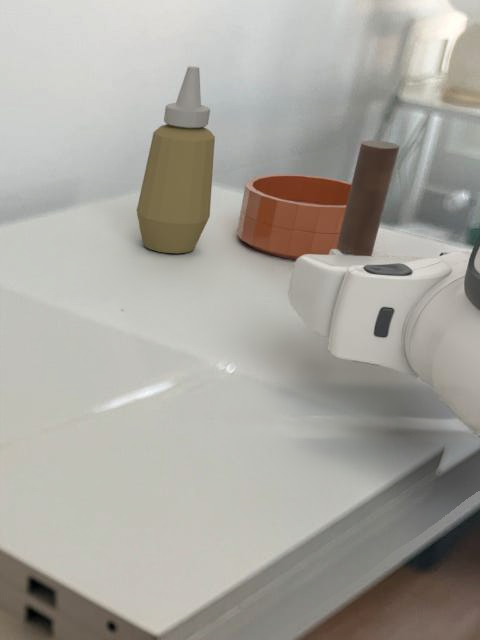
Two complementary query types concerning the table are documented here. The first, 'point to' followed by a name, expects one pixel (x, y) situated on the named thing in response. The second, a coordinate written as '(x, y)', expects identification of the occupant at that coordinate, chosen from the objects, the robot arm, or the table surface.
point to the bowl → (293, 214)
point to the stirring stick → (367, 197)
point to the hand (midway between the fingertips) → (391, 260)
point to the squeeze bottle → (178, 174)
